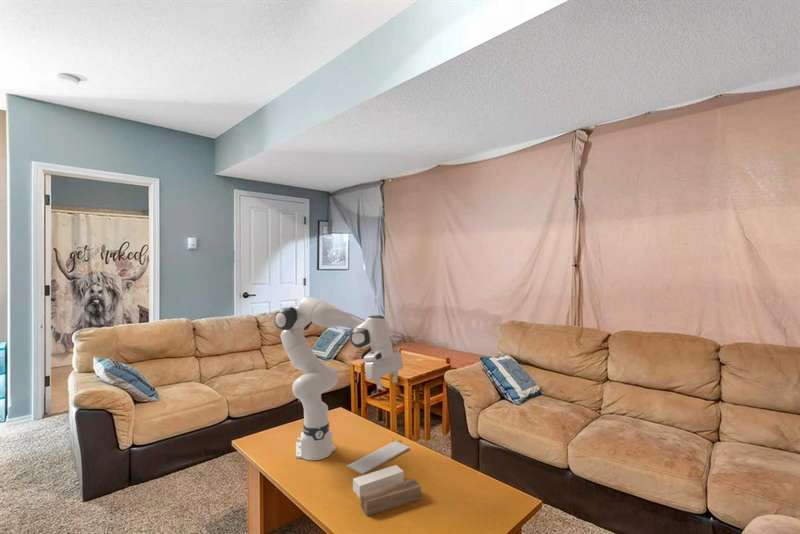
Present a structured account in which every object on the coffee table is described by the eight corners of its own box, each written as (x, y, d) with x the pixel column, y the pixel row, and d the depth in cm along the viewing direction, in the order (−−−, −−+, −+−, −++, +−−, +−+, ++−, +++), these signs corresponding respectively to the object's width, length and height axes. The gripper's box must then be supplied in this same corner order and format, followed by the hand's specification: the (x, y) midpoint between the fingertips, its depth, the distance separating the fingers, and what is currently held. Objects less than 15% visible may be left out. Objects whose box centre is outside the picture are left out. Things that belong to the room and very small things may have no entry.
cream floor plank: (353, 491, 154) (353, 478, 154) (396, 476, 164) (396, 464, 164) (359, 499, 149) (359, 486, 148) (403, 483, 159) (403, 471, 159)
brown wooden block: (360, 506, 143) (360, 493, 143) (413, 491, 153) (413, 478, 153) (366, 516, 138) (366, 502, 138) (420, 499, 148) (420, 486, 148)
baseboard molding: (343, 466, 172) (362, 476, 164) (343, 460, 172) (362, 470, 164) (391, 442, 196) (409, 450, 188) (391, 436, 196) (409, 444, 188)
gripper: (392, 347, 176) (398, 378, 175) (360, 358, 160) (366, 392, 159) (403, 347, 172) (409, 378, 171) (371, 357, 156) (377, 392, 155)
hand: (388, 385), depth 165 cm, fingers open, 8 cm apart
